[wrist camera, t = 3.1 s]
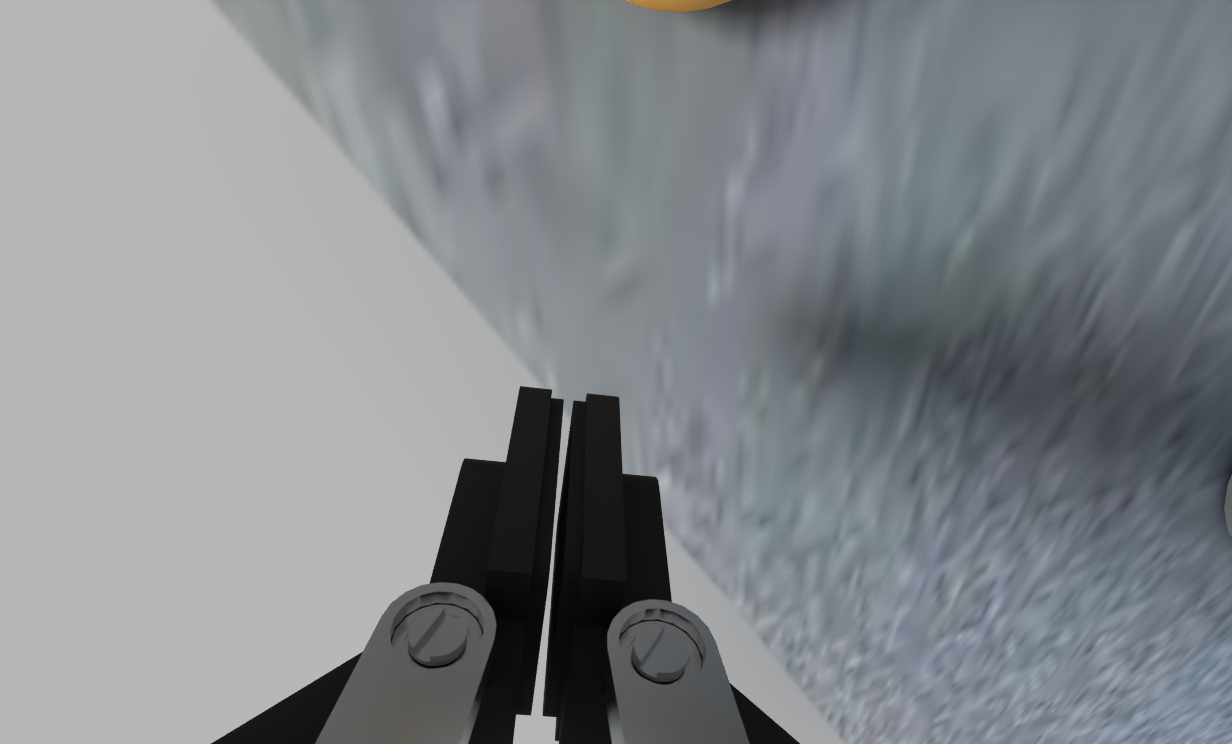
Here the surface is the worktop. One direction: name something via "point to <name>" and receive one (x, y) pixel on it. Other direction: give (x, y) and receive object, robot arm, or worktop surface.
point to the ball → (677, 4)
